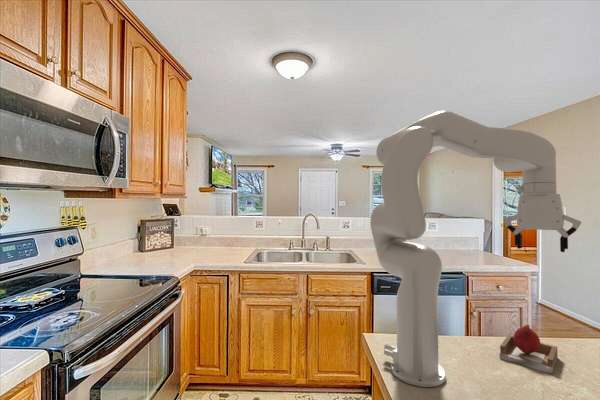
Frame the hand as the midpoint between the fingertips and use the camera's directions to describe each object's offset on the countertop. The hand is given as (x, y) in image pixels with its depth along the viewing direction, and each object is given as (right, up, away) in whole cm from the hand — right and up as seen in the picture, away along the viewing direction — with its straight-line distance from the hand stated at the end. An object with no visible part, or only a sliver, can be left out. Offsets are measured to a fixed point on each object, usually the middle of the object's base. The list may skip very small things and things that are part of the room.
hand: (540, 249), depth 86 cm
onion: (-7, -28, -4) cm, 29 cm away
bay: (-7, -28, -5) cm, 30 cm away
